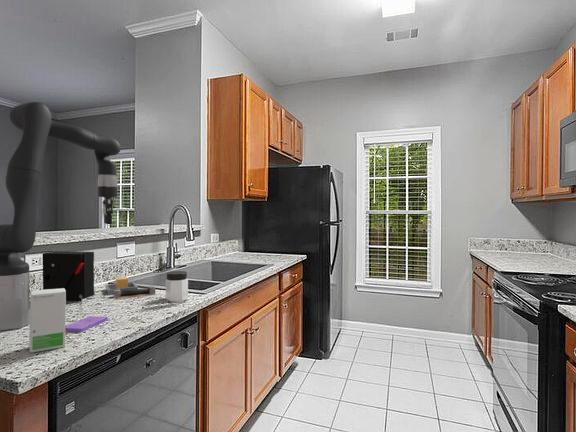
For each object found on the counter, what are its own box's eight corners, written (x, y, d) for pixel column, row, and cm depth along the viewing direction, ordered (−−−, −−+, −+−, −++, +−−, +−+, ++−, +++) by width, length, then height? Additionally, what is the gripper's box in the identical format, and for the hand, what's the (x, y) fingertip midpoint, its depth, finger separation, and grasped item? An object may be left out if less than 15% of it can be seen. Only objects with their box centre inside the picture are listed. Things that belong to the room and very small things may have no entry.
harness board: (152, 292, 162) (152, 284, 162) (156, 297, 153) (156, 288, 153) (112, 297, 153) (112, 288, 153) (115, 302, 145) (115, 293, 145)
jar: (188, 298, 152) (188, 270, 152) (187, 302, 144) (187, 273, 144) (166, 299, 150) (166, 271, 150) (164, 304, 142) (164, 274, 142)
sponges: (61, 332, 110) (61, 327, 110) (90, 320, 123) (89, 315, 123) (81, 334, 109) (81, 328, 109) (108, 321, 122) (108, 316, 122)
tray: (137, 294, 159) (137, 286, 159) (108, 297, 153) (108, 289, 153) (133, 289, 169) (133, 282, 169) (105, 292, 163) (105, 284, 163)
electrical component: (97, 296, 154) (97, 251, 154) (81, 302, 144) (81, 254, 144) (60, 295, 156) (59, 250, 156) (41, 301, 146) (41, 253, 146)
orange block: (127, 291, 160) (127, 278, 160) (116, 293, 157) (116, 279, 157) (126, 289, 164) (126, 276, 164) (115, 290, 162) (115, 277, 162)
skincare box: (29, 353, 93) (28, 295, 93) (29, 346, 98) (29, 290, 98) (66, 346, 98) (66, 290, 98) (65, 339, 103) (64, 286, 103)
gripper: (96, 186, 155) (97, 223, 155) (98, 184, 143) (99, 224, 143) (115, 187, 159) (115, 223, 159) (119, 185, 146) (119, 224, 147)
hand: (107, 223), depth 151 cm, fingers open, 8 cm apart
